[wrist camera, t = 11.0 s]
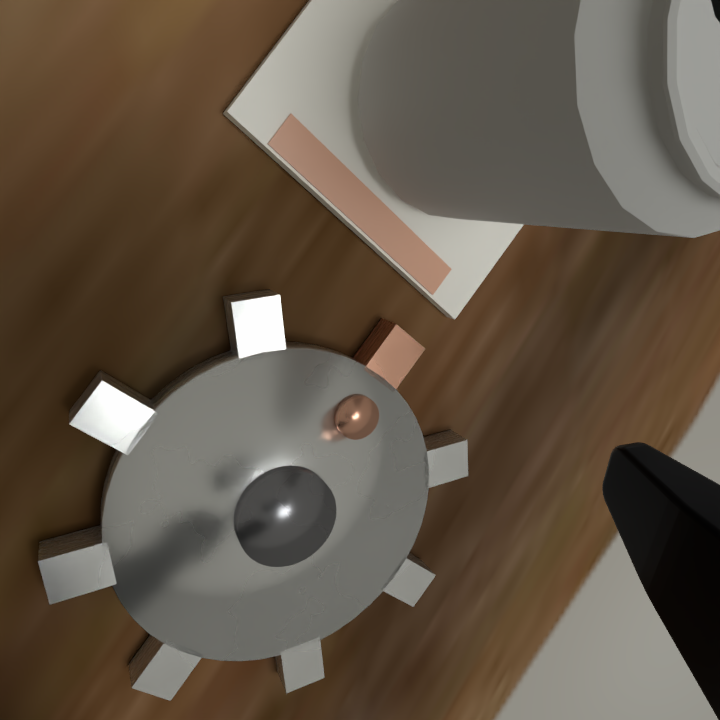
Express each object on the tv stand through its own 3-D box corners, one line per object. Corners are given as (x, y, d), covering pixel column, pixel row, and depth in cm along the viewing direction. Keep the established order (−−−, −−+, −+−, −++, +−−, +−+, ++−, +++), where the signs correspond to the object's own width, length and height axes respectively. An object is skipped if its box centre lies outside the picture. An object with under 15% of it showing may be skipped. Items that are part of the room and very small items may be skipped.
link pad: (446, 316, 24) (456, 319, 24) (222, 113, 19) (227, 111, 19) (605, 96, 25) (619, 94, 24) (430, -159, 20) (442, -170, 19)
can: (508, -39, 21) (943, -263, 11) (548, 177, 24) (923, 169, 14) (315, 18, 19) (621, -192, 9) (384, 248, 22) (678, 304, 11)
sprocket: (303, 725, 27) (318, 759, 25) (-71, 595, 19) (-83, 632, 18) (514, 429, 27) (541, 444, 26) (233, 193, 20) (247, 194, 18)
